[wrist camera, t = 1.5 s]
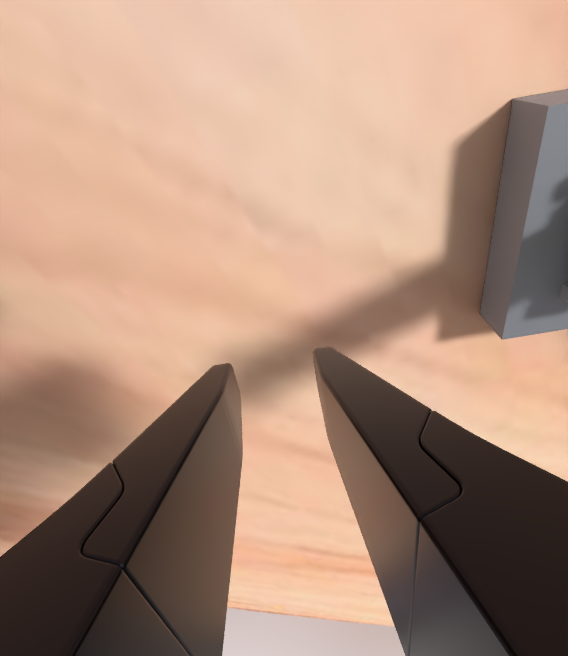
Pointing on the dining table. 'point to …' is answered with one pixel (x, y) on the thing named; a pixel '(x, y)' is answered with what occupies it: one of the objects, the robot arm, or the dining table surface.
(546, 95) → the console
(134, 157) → the dining table surface
